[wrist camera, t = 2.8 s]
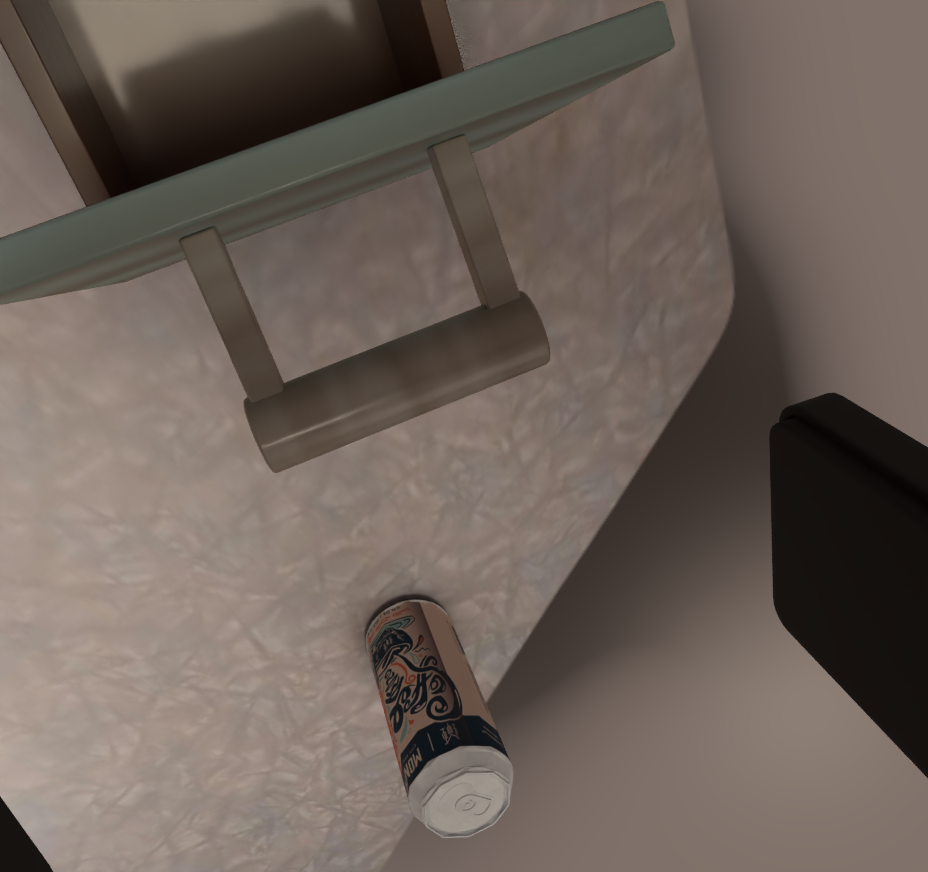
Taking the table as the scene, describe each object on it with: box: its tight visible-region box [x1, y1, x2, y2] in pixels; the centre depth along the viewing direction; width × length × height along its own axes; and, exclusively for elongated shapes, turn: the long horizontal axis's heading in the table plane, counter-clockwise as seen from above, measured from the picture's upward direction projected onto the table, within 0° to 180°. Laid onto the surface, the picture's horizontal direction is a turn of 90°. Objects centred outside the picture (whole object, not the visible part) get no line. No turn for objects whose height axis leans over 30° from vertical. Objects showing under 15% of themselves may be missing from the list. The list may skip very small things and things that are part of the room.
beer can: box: [365, 600, 513, 838], centre depth 42 cm, size 5×5×12 cm
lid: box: [0, 1, 675, 473], centre depth 21 cm, size 14×13×6 cm
